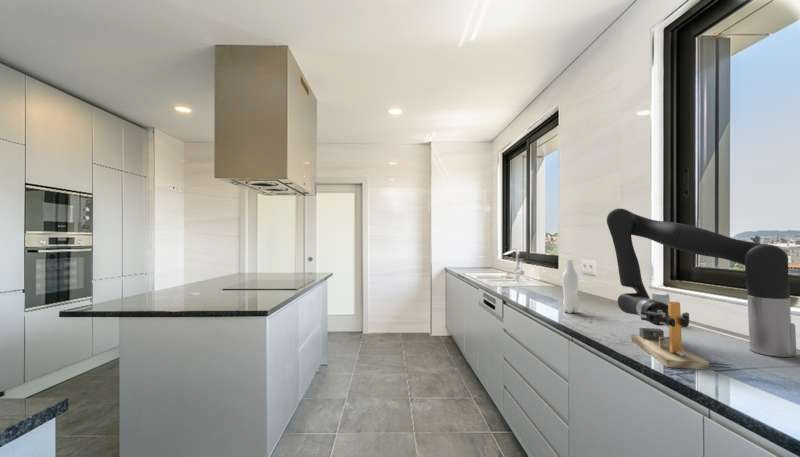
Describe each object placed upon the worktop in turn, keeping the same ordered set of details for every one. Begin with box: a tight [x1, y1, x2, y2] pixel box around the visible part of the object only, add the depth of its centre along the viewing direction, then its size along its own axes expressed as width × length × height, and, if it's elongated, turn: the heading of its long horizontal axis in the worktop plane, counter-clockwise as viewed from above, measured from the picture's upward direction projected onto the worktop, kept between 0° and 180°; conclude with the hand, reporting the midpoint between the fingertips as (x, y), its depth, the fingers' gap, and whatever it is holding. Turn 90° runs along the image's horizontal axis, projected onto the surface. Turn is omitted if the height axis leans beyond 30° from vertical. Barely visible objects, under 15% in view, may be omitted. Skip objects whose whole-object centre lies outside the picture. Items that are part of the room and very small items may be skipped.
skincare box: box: [651, 292, 671, 305], centre depth 152 cm, size 6×4×12 cm
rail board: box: [631, 335, 710, 370], centre depth 112 cm, size 10×26×2 cm, turn 166°
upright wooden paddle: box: [659, 301, 685, 357], centre depth 107 cm, size 4×10×15 cm, turn 166°
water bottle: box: [561, 259, 580, 314], centre depth 175 cm, size 7×7×25 cm
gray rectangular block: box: [639, 327, 665, 340], centre depth 121 cm, size 6×6×3 cm
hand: (679, 323), depth 103 cm, fingers closed on upright wooden paddle, 2 cm apart
